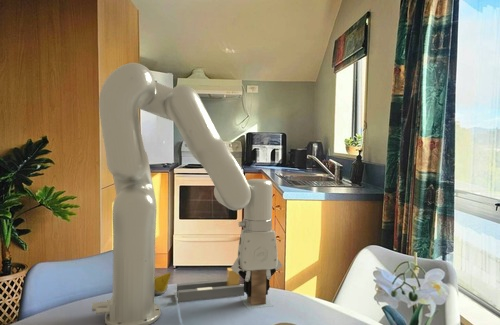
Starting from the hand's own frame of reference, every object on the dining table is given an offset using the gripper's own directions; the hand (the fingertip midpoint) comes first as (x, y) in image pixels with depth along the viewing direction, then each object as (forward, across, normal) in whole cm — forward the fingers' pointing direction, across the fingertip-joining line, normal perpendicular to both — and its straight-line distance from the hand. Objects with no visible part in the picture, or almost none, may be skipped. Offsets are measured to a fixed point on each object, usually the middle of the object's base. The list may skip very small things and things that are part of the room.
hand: (256, 293), depth 88 cm
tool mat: (+3, 0, 0) cm, 3 cm away
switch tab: (+1, -5, +8) cm, 9 cm away
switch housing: (+3, -11, +8) cm, 14 cm away
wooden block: (+2, 0, 0) cm, 2 cm away
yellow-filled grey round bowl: (+3, -24, +13) cm, 27 cm away
